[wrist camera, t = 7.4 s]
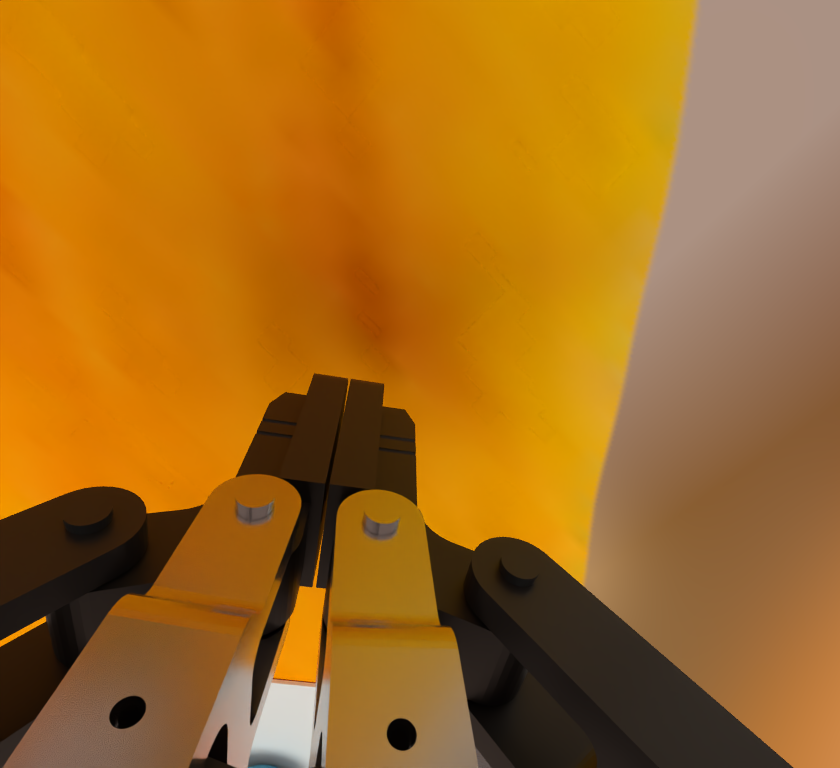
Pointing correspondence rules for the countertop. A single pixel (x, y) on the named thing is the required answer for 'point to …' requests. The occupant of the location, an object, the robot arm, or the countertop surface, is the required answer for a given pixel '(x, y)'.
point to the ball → (262, 766)
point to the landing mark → (285, 726)
